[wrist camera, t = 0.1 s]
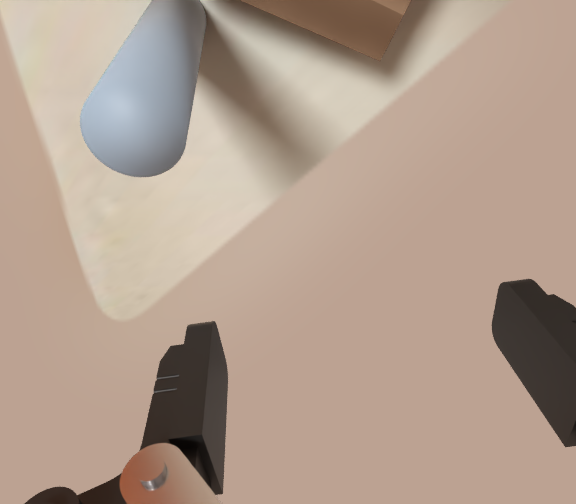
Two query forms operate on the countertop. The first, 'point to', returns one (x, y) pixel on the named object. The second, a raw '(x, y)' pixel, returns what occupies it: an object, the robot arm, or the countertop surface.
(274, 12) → the socket block
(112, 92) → the long pin
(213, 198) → the countertop surface
